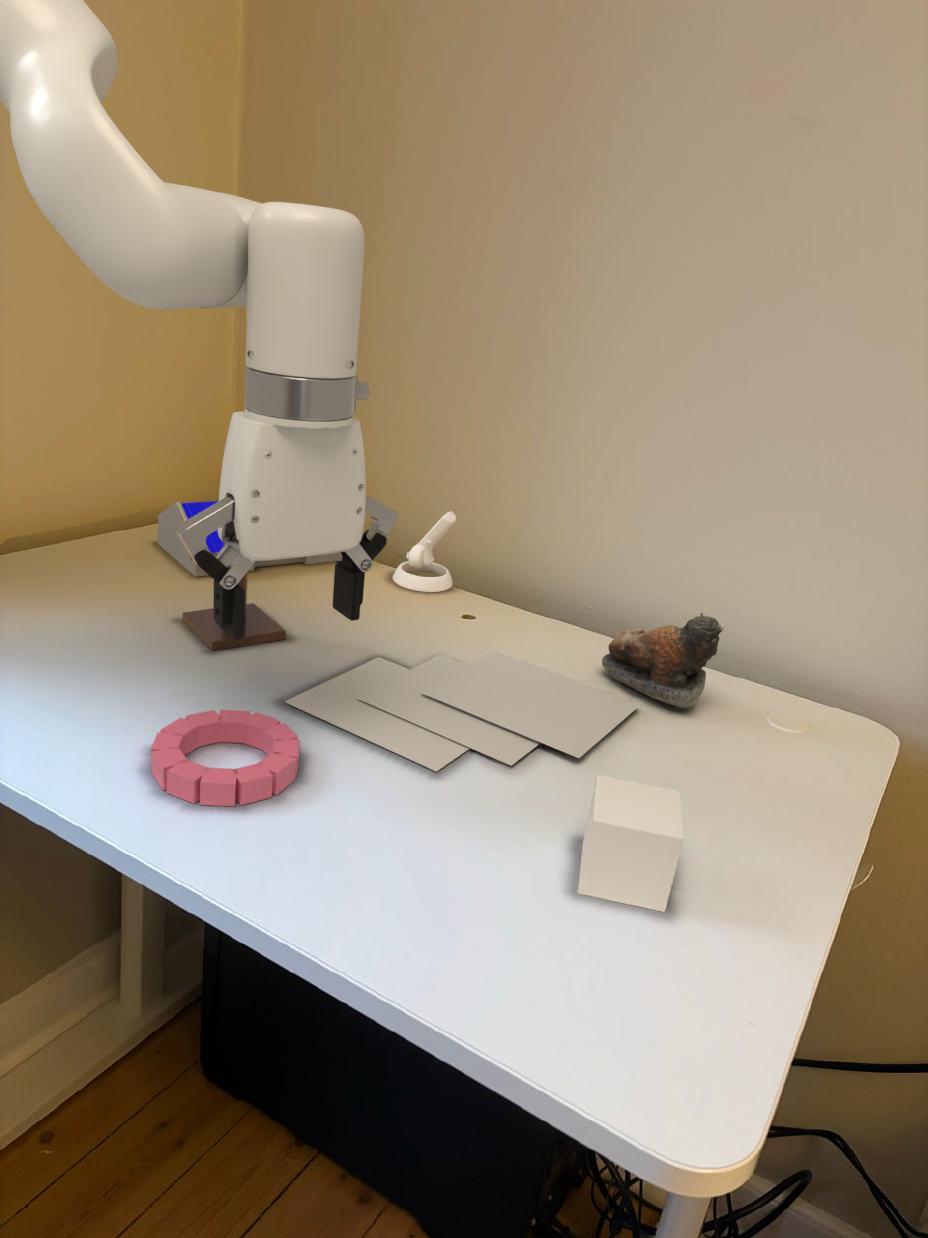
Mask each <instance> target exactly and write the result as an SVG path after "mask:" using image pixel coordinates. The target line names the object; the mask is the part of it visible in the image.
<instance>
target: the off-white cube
mask: <svg viewBox="0 0 928 1238" xmlns="http://www.w3.org/2000/svg"><path fill="white" fill-rule="evenodd" d="M683 826H684V825H683V815H682V800H681V791H680V790H674V789H669V788H665V787H659V786H655V785H649V784H644V783H639V782H634V781H629V780H625V779H620V778H614V777H609V776H606V775H605V776H604V775H600V774H596V778H595V782H594V787H593V792H592V795H591V801H590V805H589V811H588V815H587V819H586V826H585V830H584V834H583V840H582V846H581V857H580V866H579V876H578V885H577V894H579V895H584V896H587V897H593V898H597V899H602V900H607V901H612V902H616V903H620V904H625V905H629V906H634V907H638V908H644V909H647V910H652V911H657V912H662V913H665V912H666V910H667V905H668V902H669V898H670V893H671V891H672V887H673V883H674V878H675V875H676V871H677V867H678V863H679V859H680V856H681V851H682V847H683V843H684V839H685V838H684V827H683Z"/></svg>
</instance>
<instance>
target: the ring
mask: <svg viewBox="0 0 928 1238" xmlns="http://www.w3.org/2000/svg"><path fill="white" fill-rule="evenodd" d="M251 713H252V712H251V710H235V709H220V710H219V713H218V712H217V711H216V710H215V709H213V710H208V711H202V712H197V713H193V714H187V715H186V716H185V718H184V717H179V718H178V719H176V720H174V721H173V722H171V723H169V724H168V725H166V726H163V727H162V728H160V729H159V732H158V731H157V733H156V735H155V738H154V740H153V742H152V745H151V748H150V770H151V775H152V777H153V778H154V780H155V781H156V782H157V784H158V785H159V787H160V788H161V790H162V791H166V793H167V794H168V795H171V796H173V797H175V798H178V799H180V800H184V801H186V802H189V803H190V804H193V805H194V804H196V803H198V802H199V805H200V806H215V807H217V806H218V807H235V806H236V802H237V803H238V804H239V805H240V806H245V805H249V804H252V803H256V802H260V801H263V800H267V799H272V795H275V796H277V795H279V794H280V793H281V792H282V791H284V790H285V789H286V788H287V787H289V786H290V785H291V784H292V783H293V782H295V780H296V778H297V776H298V769H299V768H298V767H299V758H300V745H301V741H300V739H299V736H298V735H297V734H296V733H295V732H294V731H293V730H292V729H291V727H289V726H288V725H287V723H285V722H283V723H282V722H281V720H280V719H277V718H274V717H271V716H269V715H266V714H263V713H261V712H258V711H255V712H254V713H252V714H251ZM218 743H230V744H231V743H232V744H244V745H247V746H250V747H253V748H256V749H258V750H261V751H263V752H264V753H265V754H266V755H267V756H265V757H264V758H263V759H262V760H260V761H259V762H257V763H253V764H250V765H245V766H242V767H238V768H226V767H225V768H223V767H222V768H221V767H208V766H205V765H202V764H200V763H197V762H195V761H192V760H189V759H188V758H187V757H186V755H188V754H190V753H192V751H194V750H196V749H197V748H200V747H204V746H208V745H213V744H218Z"/></svg>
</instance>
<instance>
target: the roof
mask: <svg viewBox="0 0 928 1238" xmlns="http://www.w3.org/2000/svg"><path fill="white" fill-rule="evenodd" d="M218 501H219V500H214V501H199V502H198V501H197V502H181V501H174V503H173V504H171V505H170V506H169V507H167V508H166V509H164V510H163V511H162V512H161V513H159V514H158V515H157V517H156V520H157V545H158V546H159V547H161V548H162V549H163V550H164V551H165V552H166V553H167V554H169V555H170V557H172V558H173V559H175V561H177V562H178V563H179V564H180V565H181V566H182V567H184V568H185V569H186V570H187V571H188V572H189V573H190V574H192V576H194V577H195V578H198V577H207V576H208V577H209V575H208V574H207V573H206V572H205V571H204V570H203V569H201V568H200V567H199V566H198V565H197V564H196V563H194V562H193V561H192V560H191V559H190V556H189V553H188V552H187V551H186V549H185V547H184V545H183V544H182V542H181V540H180V538H179V536H178V535H177V532H176V529H177V527H178V525H180V524H181V523H183V522H184V521H186V520H188V519H189V518H191V517H193V516H195V515H196V514H198V513H200V512H201V511H203V510H205V509H206V508H208V507H210V506H211V505H213V504H215V503H217V502H218ZM206 544H207V546H208V549H209V550H210V552H211V554H212V555H213V556H216V555H217V554H218V552H219V551H220V550H221V549H222V547H223V546H224V542H223V541H222V540H221V539H220V538H219V535H218V529H217V530H216V531H214V532H212V533H211V534H209V535H208V536H207V538H206ZM337 561H342V557H341V556H340V554H339V553H331V554H323V555H314V556H306V557H297V558H287V559H278V560H267V561H255V562H254V564H253V565H252V566H251V567H250V569H249V570H248V572H252V571H255V568H258V567H259V568H260V567H269V566H278V565H286V564H296V563H303V564H304V565H314V564H323V563H324V564H325V563H333V562H337Z"/></svg>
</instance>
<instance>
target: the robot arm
mask: <svg viewBox="0 0 928 1238" xmlns="http://www.w3.org/2000/svg"><path fill="white" fill-rule="evenodd" d="M118 58H119V57H118V49H117V46H116V44H115V41H114V38H113V36H112V35H111V33H110V31H109V30H108V29H107V28H106V26H105V24H104V23H103V22H102V21H101V20H100V19H99V18H98V16H97V15H96V14H95V13H94V12H93V10H92V9H91V8H90V7H89V5H88V4H87V3H86V1H84V0H0V102H1V103H2V105H3V106H4V107H5V108H6V110H7V111H8V113H9V124H10V125H9V129H10V137H11V141H12V146H13V149H14V153H15V156H16V160H17V163H18V167H19V170H20V173H21V175H22V178H23V180H24V184H25V186H26V187H27V190H28V192H29V193H30V196H31V197H32V199H33V200H34V202H35V204H36V205H37V207H38V208H39V209H40V211H41V212H42V214H43V215H44V216H45V217H46V219H47V220H48V222H50V224H51V225H52V227H54V229H55V230H56V231H57V232H58V234H59V235H60V236H61V237H62V239H63V240H64V241H65V242H66V243H67V244H68V246H69V247H70V248H71V249H72V250H73V252H74V253H75V254H76V255H77V257H79V259H80V260H81V261H82V262H83V263H84V265H85V266H87V268H88V269H89V270H90V271H91V273H93V274H94V275H95V276H96V277H97V278H98V279H99V280H100V281H101V282H102V283H103V284H104V285H105V286H107V287H108V288H109V289H110V290H112V292H114V293H115V294H117V295H119V296H120V297H121V298H123V299H124V300H127V301H128V302H130V303H132V304H135V305H136V306H139V307H141V308H146V309H150V310H184V309H185V310H186V309H223V308H226V309H227V308H246V321H245V322H246V323H245V324H246V325H245V326H246V327H245V368H244V369H245V372H244V373H245V374H244V375H245V376H244V411H243V410H242V411H234V412H233V413H232V415H231V419H230V423H229V426H228V430H227V435H226V439H225V445H224V452H223V457H222V463H221V472H220V479H219V481H220V482H219V489H218V490H219V491H218V500H217V501H218V502H217V503H215V504H213V505H211V506H210V507H208V508H206V509H205V510H203V511H201V512H200V513H198V514H196V515H195V516H193V517H191V518H189V519H188V520H186V521H184V522H183V523H181V524H180V525H178V527H177V529H176V532H177V535H178V536H179V538H180V540H181V542H182V544H183V545H184V547H185V549H186V551H187V552H188V553H189V556H190V559H191V560H192V561H193V562H194V563H196V564H197V565H198V566H199V567H200V568H201V569H203V570H204V571H205V572H206V573H207V574H208V577H210V578H211V579H213V606H212V607H213V608H212V609H213V615H214V620H215V622H216V624H217V625H218V626H219V627H220V628H221V629H222V630H223V631H225V632H226V633H227V634H228V635H229V636H230V637H231V638H232V639H233V640H237V639H242V637H244V620H245V590H244V588H242V587H241V586H240V585H239V581H240V580H241V579H242V578H243V576H244V575H245V574H246V573H247V571H248V570H249V569H250V567H251V566H252V565H253V564H254V562H255V561H267V560H278V559H287V558H297V557H306V556H314V555H323V554H331V553H339V554H340V556H341V557H342V561H335V562H336V564H335V565H334V572H333V575H334V576H333V589H332V608H333V609H334V610H335V611H336V612H338V613H339V614H341V615H342V616H343V617H345V618H346V619H347V620H350V621H352V622H353V621H359V619H360V616H361V615H360V614H361V605H362V604H363V602H364V590H365V576H366V573H367V572H369V571H370V570H371V569H372V567H373V566H374V565H373V561H374V560H375V558H376V557H377V556H378V555H379V554H380V553H381V552H382V551H383V549H384V548H385V547H386V545H387V543H388V539H387V538H388V536H390V534H391V533H392V531H393V529H394V527H395V525H396V523H397V521H398V518H399V514H398V512H397V510H394V509H392V508H391V507H389V506H387V505H385V504H383V503H381V502H379V501H378V500H376V499H374V498H372V497H370V496H368V495H367V478H366V477H367V475H366V459H365V447H364V440H363V433H362V427H361V426H362V425H361V421H360V419H358V418H356V417H355V416H354V413H355V412H356V409H357V408H356V407H357V404H356V403H357V402H359V401H366V400H367V399H368V398H369V396H370V387H369V384H368V382H366V381H360V380H358V379H359V378H358V375H357V368H358V367H357V366H358V352H359V351H358V349H359V335H360V334H359V333H360V321H361V320H360V319H361V304H362V303H361V302H362V289H363V288H362V287H363V273H364V259H365V257H364V255H365V232H364V227H363V226H362V223H361V221H360V219H358V218H357V216H356V215H354V214H353V213H351V212H349V211H346V210H343V209H339V208H334V207H326V206H320V205H313V204H306V203H297V202H287V201H267V202H258V201H255V200H252V199H249V198H245V197H241V196H237V195H233V194H230V193H225V192H220V191H214V190H208V189H204V188H199V187H194V186H189V185H184V184H183V185H182V184H179V183H178V184H177V183H173V182H164V180H162V179H161V178H160V177H159V176H158V175H157V173H156V172H154V170H153V169H152V168H151V167H150V166H149V165H148V163H147V162H146V161H145V160H144V159H143V158H142V156H141V155H140V154H139V153H138V151H137V150H136V148H134V146H133V145H132V144H131V143H130V142H129V140H128V139H127V138H126V137H125V136H124V134H123V133H122V132H121V130H120V129H119V128H118V126H117V125H116V124H115V122H114V121H113V120H112V119H111V117H110V115H109V113H108V112H107V111H106V109H105V107H103V104H102V103H103V101H104V99H106V97H107V95H108V93H109V92H110V89H111V88H112V86H113V84H114V82H115V80H116V77H117V73H118V72H117V71H118V67H119V63H118V62H119V59H118ZM366 514H367V516H368V515H369V516H370V517H371V522H370V525H369V528H368V529H367V530H365V523H366ZM217 529H218V535H219V538H220V539H221V540H222V541H223V542H225V543H226V544H225V545H224V546H223V547H222V549H221V550H220V551H219V552H218V554H217V555H216V556H213V555H212V554H211V552H210V550H209V549H208V546H207V544H206V538H207V536H208V535H209V534H211V533H212V532H214V531H216V530H217ZM364 530H365V531H364ZM248 572H249V571H248Z"/></svg>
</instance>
